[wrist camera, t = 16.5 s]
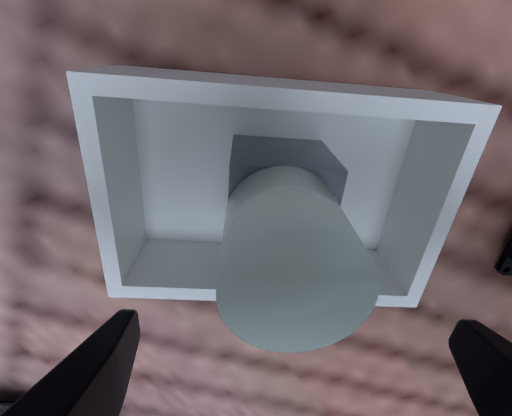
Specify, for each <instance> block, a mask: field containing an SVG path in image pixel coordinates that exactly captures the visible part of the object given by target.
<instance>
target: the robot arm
mask: <svg viewBox="0 0 512 416" xmlns="http://www.w3.org/2000/svg"><path fill="white" fill-rule="evenodd" d="M496 270H497V271H498V272H499V273H500V274H501V275H512V238H511V240H510V242H509V244H508V246H507V248H506V249H505V251H504V253H503V255H502V257H501V259H500V260H499V262H498V264H497V266H496ZM139 339H140V327H139V319H138V313H137V311H136V310H129V309H122V310H119V311H118V312H117V313H116V314H115V315H113V316H112V317H111V318H110V319H109V320H108V321H107V322H105V323H104V324H103V325H102V326H101V327H100V328H99V329H98V330H96V331H95V332H94V333H93V334H92V335H91V336H90V337H88V338H87V339H86V340H85V341H84V342H83V343H82V344H81V345H79V346H78V347H77V348H76V349H75V350H74V351H73V352H71V353H70V354H69V355H68V356H67V357H66V358H65V359H64V360H62V361H61V362H60V363H59V364H58V365H57V366H56V367H54V368H53V369H52V370H51V371H50V372H49V373H48V374H47V375H45V376H44V377H43V378H42V379H41V380H40V381H39V382H37V383H36V384H35V385H34V386H33V387H32V388H31V389H30V390H28V391H27V392H26V393H25V394H24V395H23V396H22V397H20V398H19V399H18V400H17V401H16V402H15V403H14V404H13V405H11V406H10V407H9V408H8V409H7V410H6V411H5V412H3V413H2V414H1V415H0V416H119V414H120V411H121V408H122V405H123V402H124V399H125V395H126V391H127V387H128V383H129V379H130V375H131V371H132V367H133V363H134V359H135V355H136V351H137V347H138V343H139ZM449 348H450V350H451V353H452V355H453V357H454V360H455V362H456V365H457V367H458V369H459V372H460V374H461V376H462V379H463V381H464V384H465V386H466V388H467V391H468V393H469V395H470V398H471V400H472V402H473V404H474V406H475V408H476V410H477V412H478V414H479V416H512V343H511V342H510V341H508V340H507V339H505V338H503V337H502V336H500V335H499V334H497V333H496V332H494V331H492V330H491V329H489V328H488V327H486V326H485V325H483V324H481V323H480V322H478V321H476V320H466V319H462V320H459V321H458V322H457V324H456V326H455V328H454V330H453V332H452V334H451V335H450V337H449Z"/></svg>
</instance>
